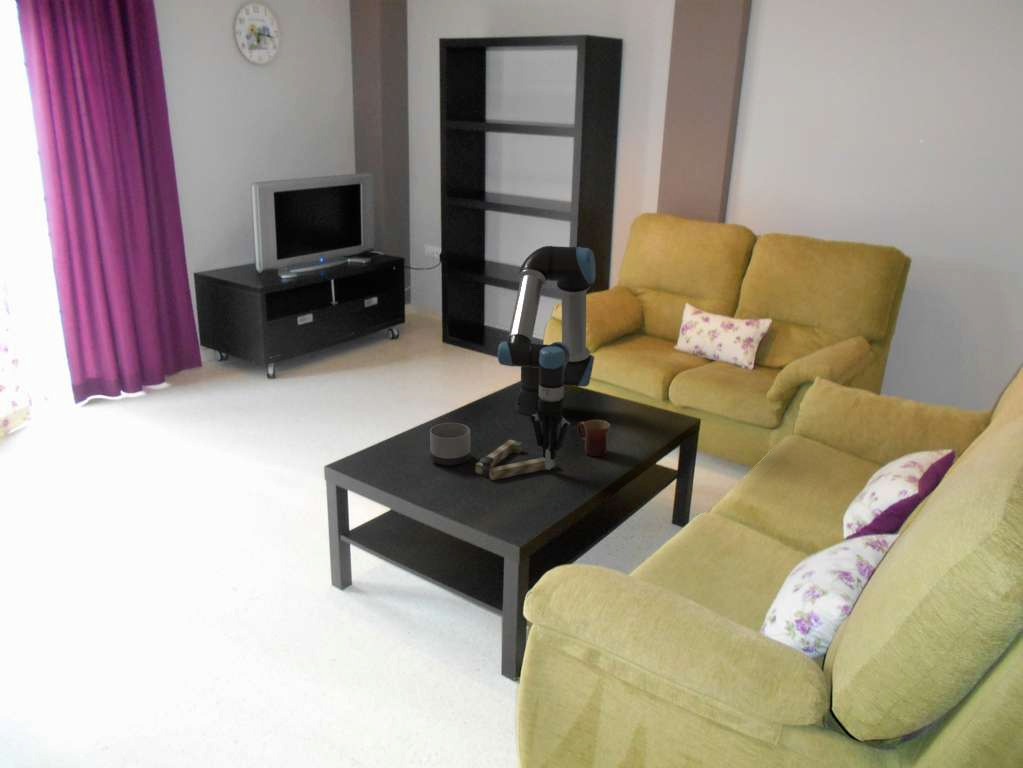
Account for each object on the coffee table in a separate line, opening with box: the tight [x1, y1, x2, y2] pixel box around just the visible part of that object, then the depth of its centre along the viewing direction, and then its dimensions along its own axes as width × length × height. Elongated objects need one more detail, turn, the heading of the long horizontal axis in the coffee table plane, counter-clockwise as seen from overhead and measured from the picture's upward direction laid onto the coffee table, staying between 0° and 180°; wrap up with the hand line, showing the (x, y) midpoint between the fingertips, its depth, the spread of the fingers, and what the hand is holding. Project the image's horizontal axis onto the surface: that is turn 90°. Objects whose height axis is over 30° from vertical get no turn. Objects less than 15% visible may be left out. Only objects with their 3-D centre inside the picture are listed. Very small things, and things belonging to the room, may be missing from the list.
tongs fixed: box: [474, 439, 523, 478], centre depth 268 cm, size 24×6×6 cm, turn 151°
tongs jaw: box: [488, 456, 556, 481], centre depth 261 cm, size 22×2×3 cm, turn 116°
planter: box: [429, 422, 471, 467], centre depth 269 cm, size 13×13×10 cm
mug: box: [577, 419, 612, 458], centre depth 276 cm, size 12×9×10 cm
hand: (549, 467), depth 262 cm, fingers closed
